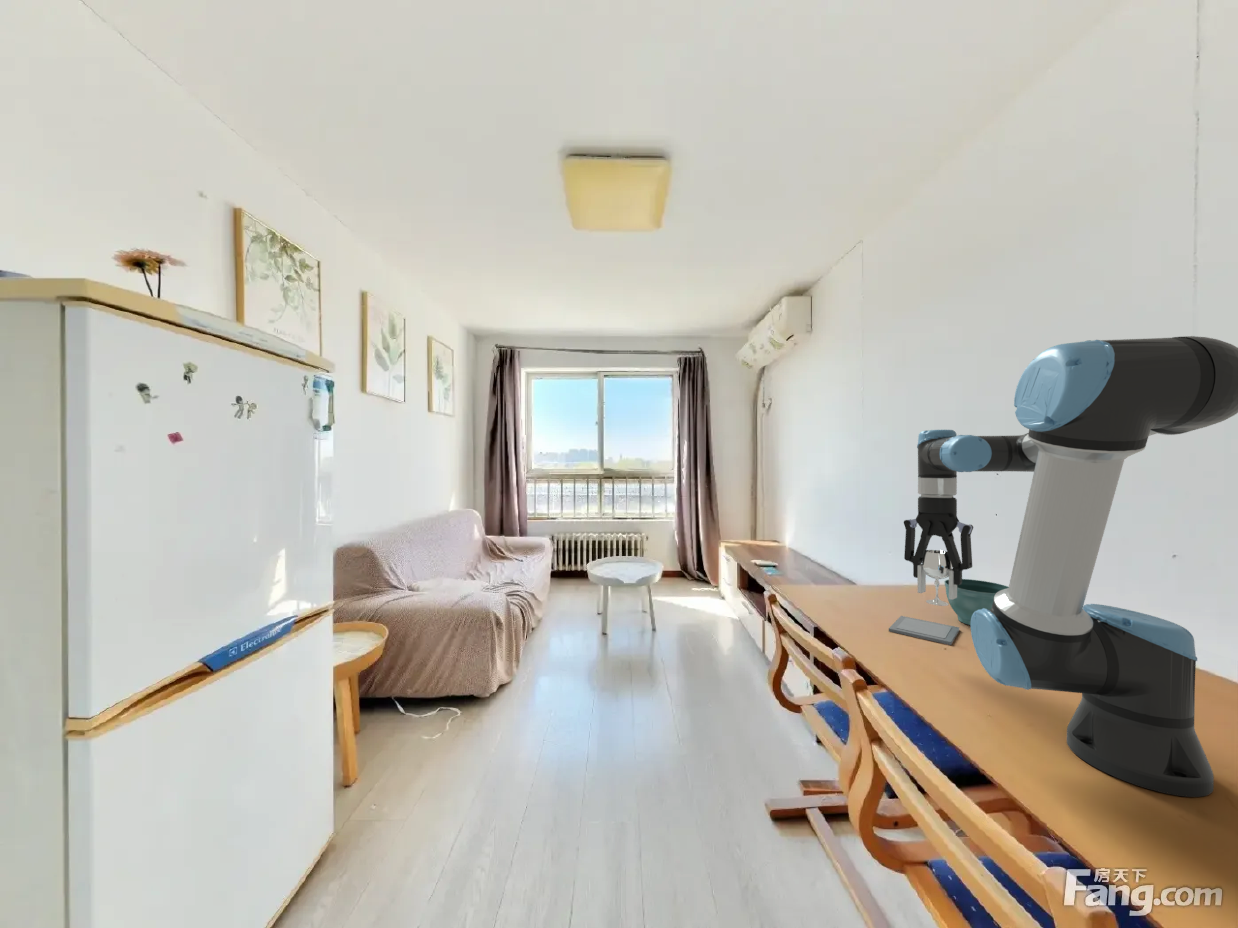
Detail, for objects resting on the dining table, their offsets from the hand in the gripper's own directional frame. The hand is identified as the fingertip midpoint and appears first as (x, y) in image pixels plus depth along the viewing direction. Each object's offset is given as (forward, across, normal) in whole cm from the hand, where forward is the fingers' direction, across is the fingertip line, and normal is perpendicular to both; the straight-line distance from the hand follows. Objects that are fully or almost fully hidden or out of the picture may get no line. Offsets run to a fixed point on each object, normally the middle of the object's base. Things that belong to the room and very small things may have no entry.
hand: (936, 594), depth 109 cm
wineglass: (+2, 0, 0) cm, 2 cm away
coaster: (+15, +9, -18) cm, 25 cm away
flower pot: (+15, +2, -37) cm, 40 cm away
